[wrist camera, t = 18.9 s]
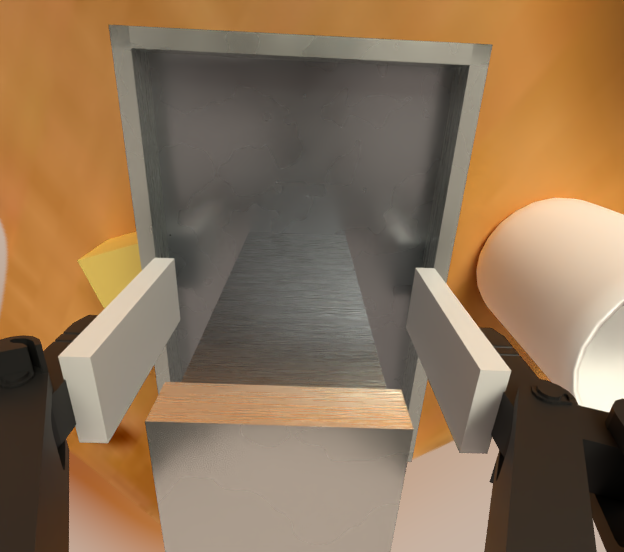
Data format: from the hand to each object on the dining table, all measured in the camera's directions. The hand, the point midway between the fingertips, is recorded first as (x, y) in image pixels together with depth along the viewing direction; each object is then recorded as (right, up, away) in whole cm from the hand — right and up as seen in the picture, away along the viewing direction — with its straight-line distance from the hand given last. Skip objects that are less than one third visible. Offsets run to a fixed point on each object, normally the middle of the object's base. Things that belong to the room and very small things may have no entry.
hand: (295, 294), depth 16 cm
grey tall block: (0, +1, +1) cm, 2 cm away
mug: (+18, +2, +12) cm, 22 cm away
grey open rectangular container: (0, +5, +11) cm, 12 cm away
